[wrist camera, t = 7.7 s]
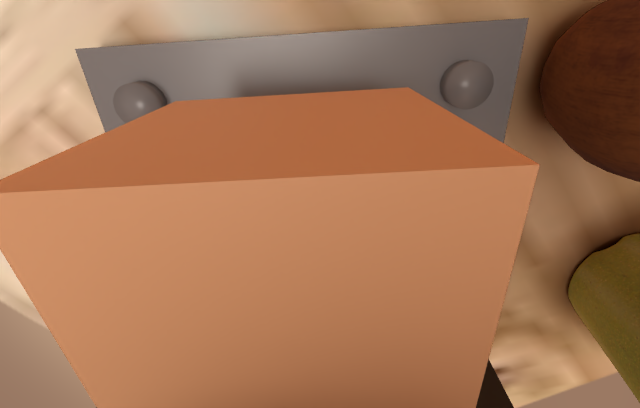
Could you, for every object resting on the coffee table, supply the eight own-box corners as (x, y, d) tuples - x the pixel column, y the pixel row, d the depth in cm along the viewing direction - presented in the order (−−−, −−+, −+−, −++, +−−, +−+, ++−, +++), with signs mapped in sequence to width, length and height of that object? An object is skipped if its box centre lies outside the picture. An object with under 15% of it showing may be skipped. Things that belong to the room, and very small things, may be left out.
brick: (408, 87, 9) (539, 165, 4) (389, 386, 15) (428, 586, 9) (175, 101, 9) (-33, 195, 4) (248, 391, 15) (207, 590, 10)
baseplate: (506, 20, 13) (542, 16, 11) (453, 321, 20) (469, 353, 18) (100, 47, 13) (58, 49, 11) (194, 331, 20) (180, 364, 18)
